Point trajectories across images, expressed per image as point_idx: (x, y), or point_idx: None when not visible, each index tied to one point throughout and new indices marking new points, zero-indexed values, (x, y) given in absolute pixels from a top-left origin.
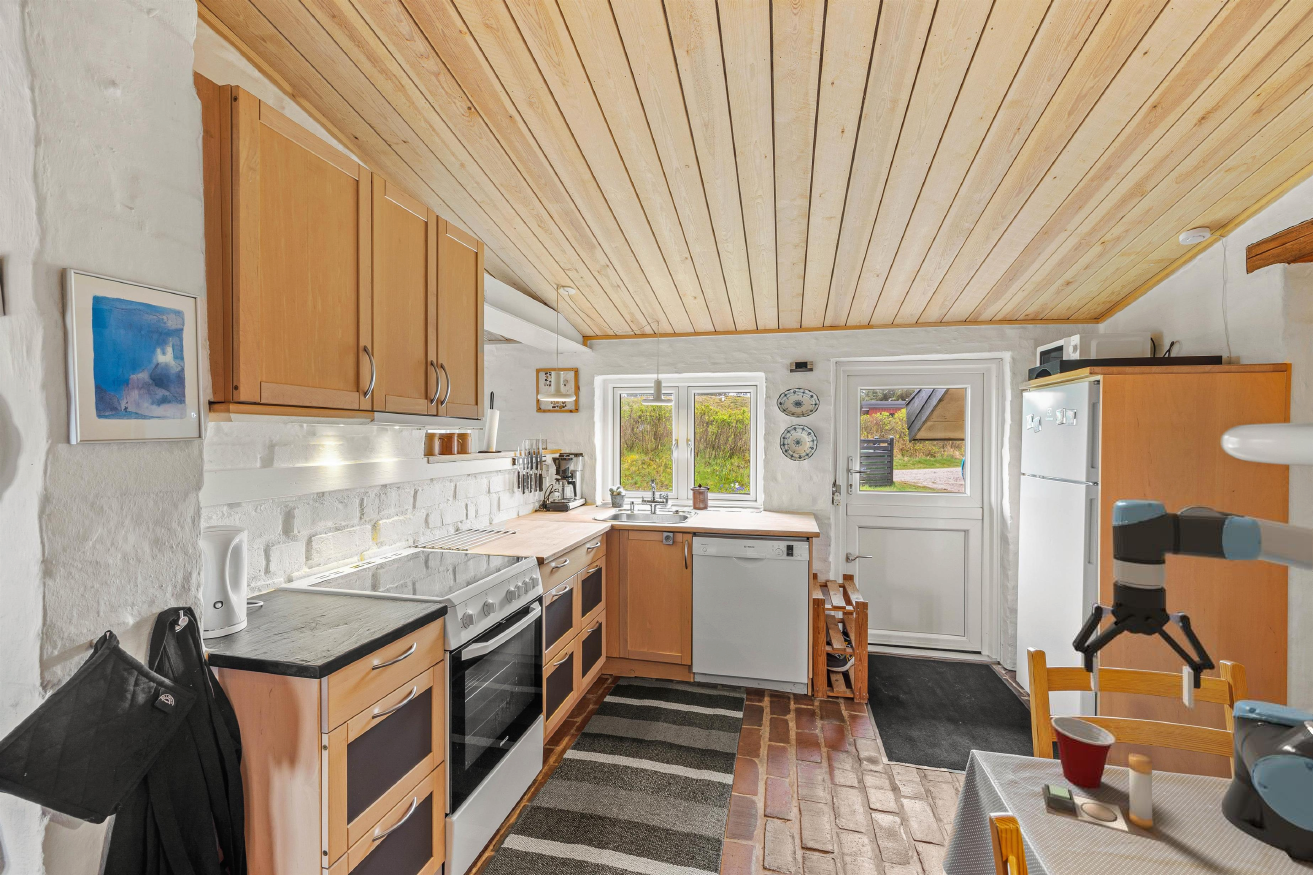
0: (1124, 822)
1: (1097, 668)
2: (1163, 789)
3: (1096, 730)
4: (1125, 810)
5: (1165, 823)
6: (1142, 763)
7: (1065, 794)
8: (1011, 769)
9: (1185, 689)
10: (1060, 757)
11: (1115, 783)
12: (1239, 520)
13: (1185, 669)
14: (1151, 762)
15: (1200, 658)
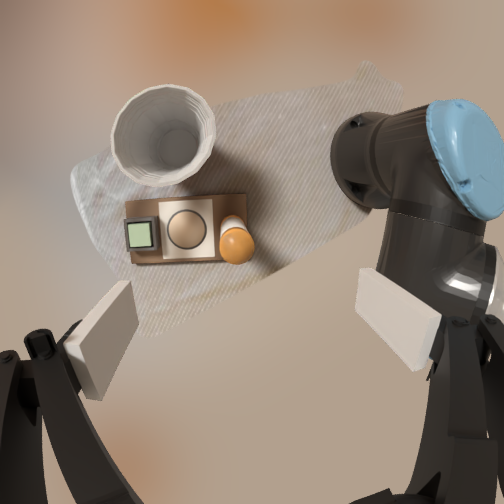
0: (213, 238)
1: (112, 371)
2: (281, 107)
3: (192, 100)
4: (219, 204)
5: (263, 197)
6: (237, 263)
7: (146, 240)
8: (97, 161)
9: (379, 308)
10: (143, 147)
11: (222, 120)
12: None
13: (418, 346)
14: (252, 253)
15: (487, 339)
